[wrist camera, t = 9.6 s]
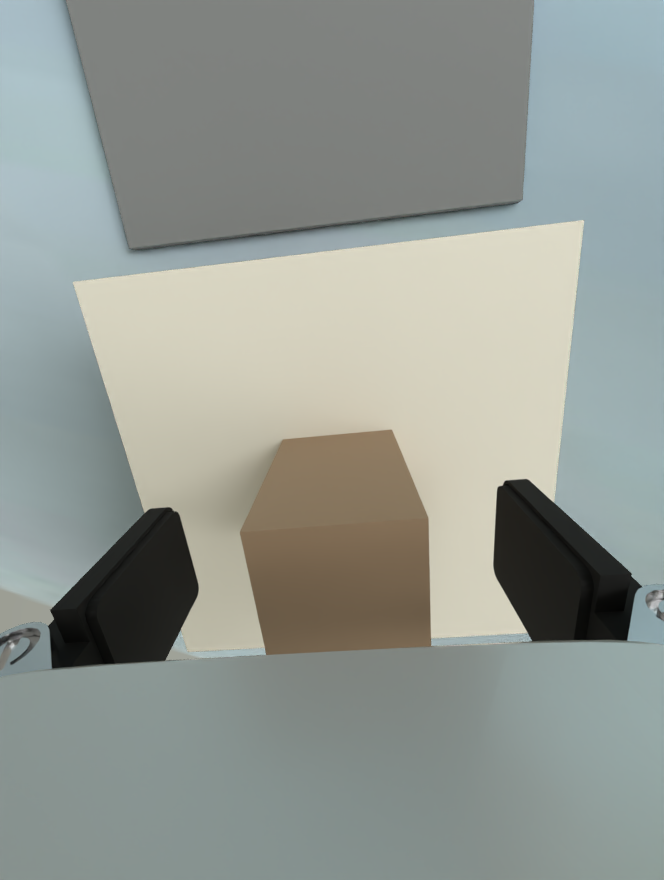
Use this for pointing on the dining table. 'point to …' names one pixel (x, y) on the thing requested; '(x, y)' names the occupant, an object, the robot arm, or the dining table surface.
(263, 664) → the robot arm
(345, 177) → the mat
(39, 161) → the dining table surface
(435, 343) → the lid
